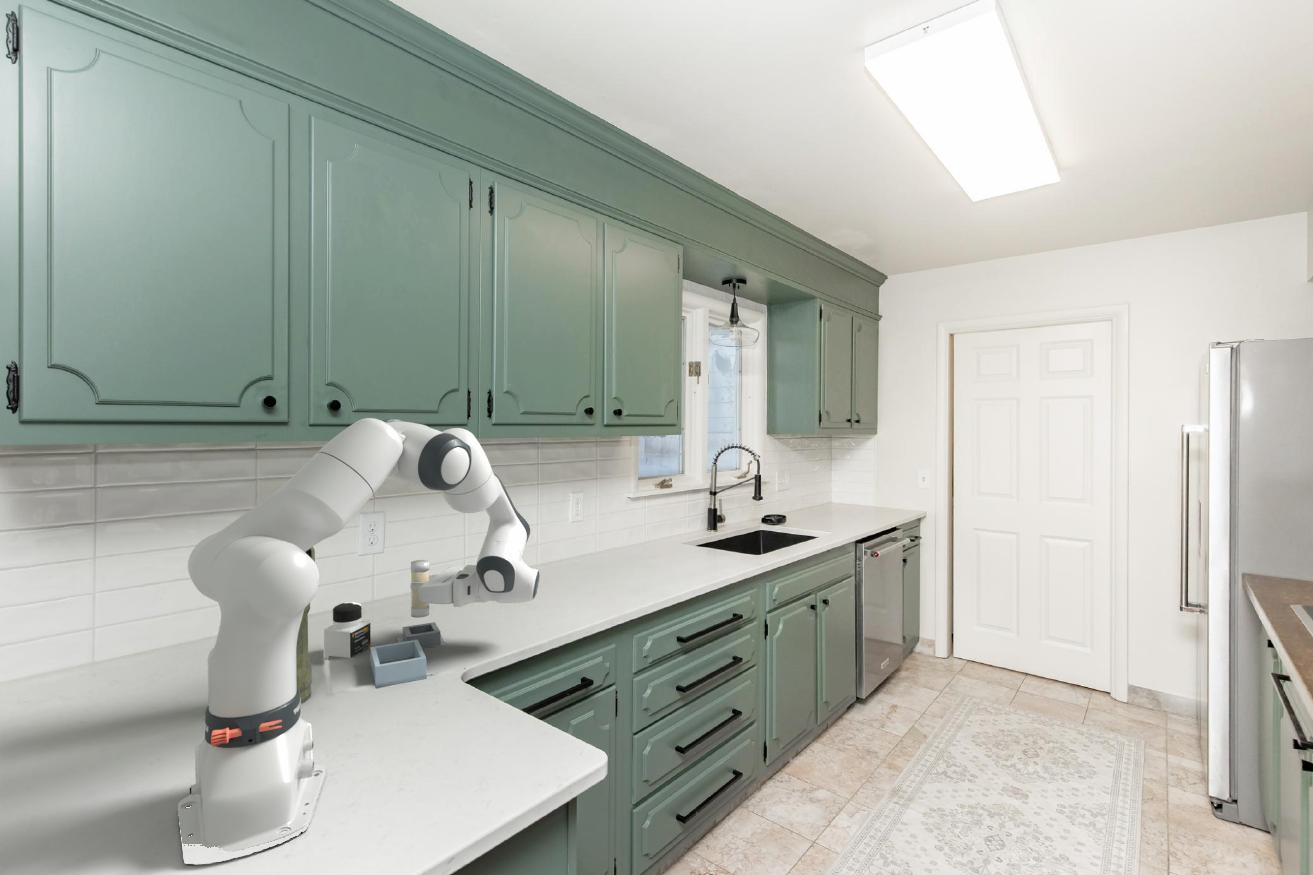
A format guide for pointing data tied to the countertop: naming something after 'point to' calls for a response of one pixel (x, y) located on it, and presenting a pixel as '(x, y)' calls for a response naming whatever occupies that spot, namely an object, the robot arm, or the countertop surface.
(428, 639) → the socket block
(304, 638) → the thermos
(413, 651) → the parts tray
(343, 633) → the medicine bottle
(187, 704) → the countertop surface
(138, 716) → the countertop surface
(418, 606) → the fuse
